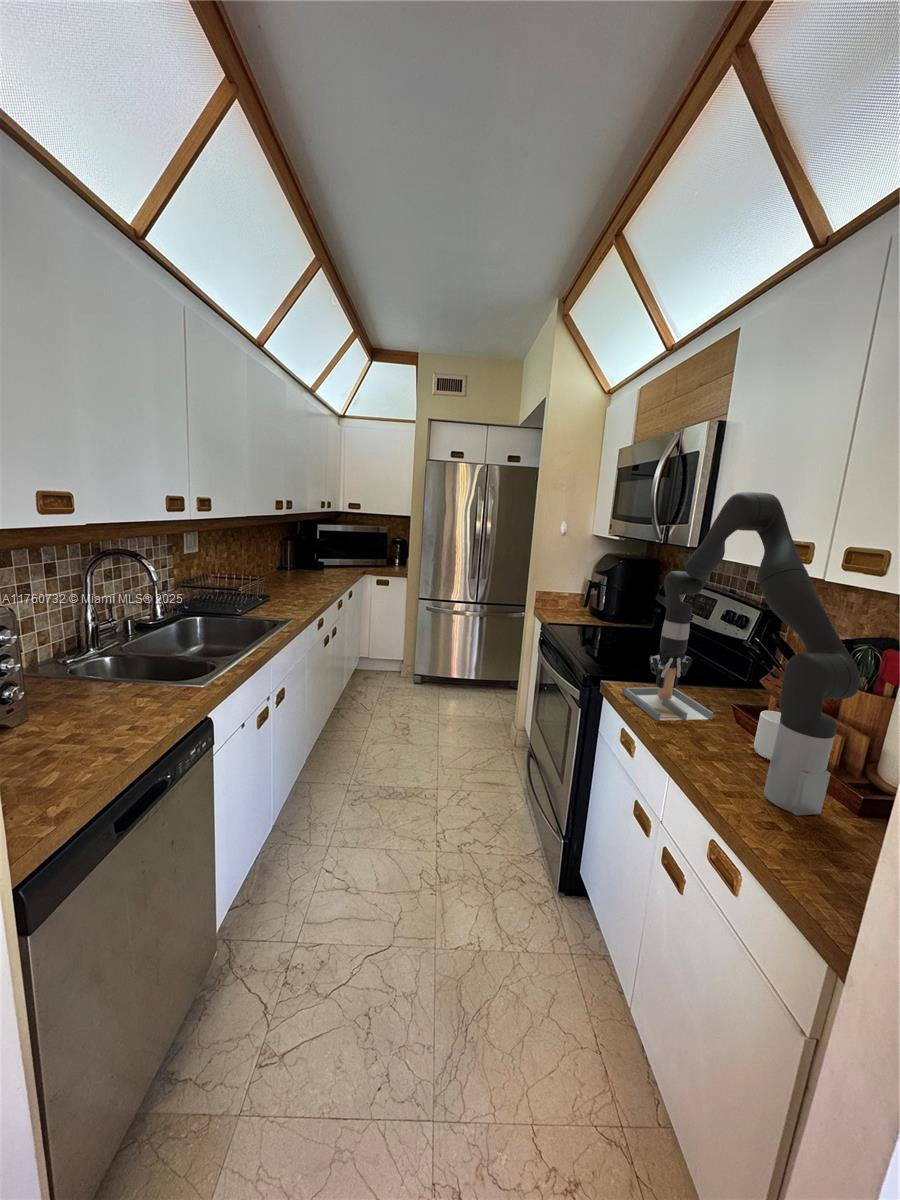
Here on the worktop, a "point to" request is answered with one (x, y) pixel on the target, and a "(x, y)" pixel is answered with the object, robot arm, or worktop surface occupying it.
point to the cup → (766, 733)
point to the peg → (667, 684)
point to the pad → (666, 713)
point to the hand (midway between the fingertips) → (666, 687)
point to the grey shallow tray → (667, 704)
